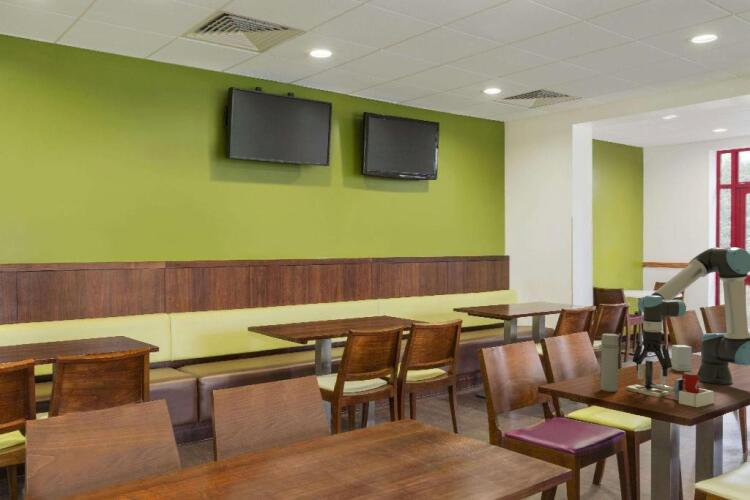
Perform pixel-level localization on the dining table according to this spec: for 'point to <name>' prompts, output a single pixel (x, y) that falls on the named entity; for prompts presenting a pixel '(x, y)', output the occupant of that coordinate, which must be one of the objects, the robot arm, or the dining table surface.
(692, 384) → the beverage can
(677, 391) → the metal lever handle
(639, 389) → the panel
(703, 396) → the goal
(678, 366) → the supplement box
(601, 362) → the water bottle
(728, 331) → the robot arm
